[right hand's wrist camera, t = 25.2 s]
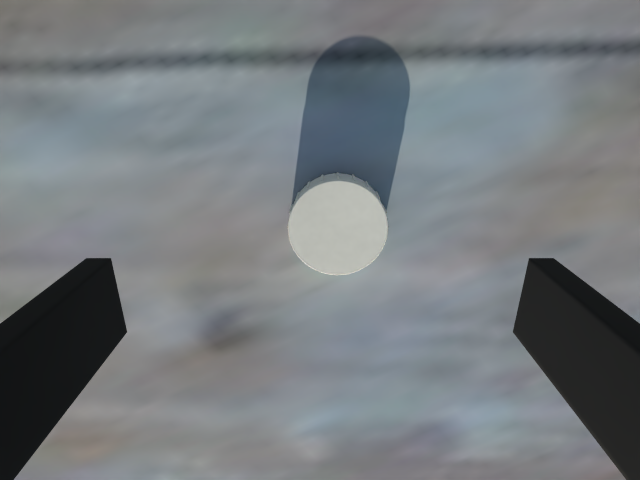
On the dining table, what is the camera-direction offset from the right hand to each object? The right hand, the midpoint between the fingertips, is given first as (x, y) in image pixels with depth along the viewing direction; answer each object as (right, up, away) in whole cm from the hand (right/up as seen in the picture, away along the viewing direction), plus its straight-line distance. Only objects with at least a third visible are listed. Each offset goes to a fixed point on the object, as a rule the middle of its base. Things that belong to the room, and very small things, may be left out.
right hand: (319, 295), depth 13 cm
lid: (+1, +2, +9) cm, 9 cm away
